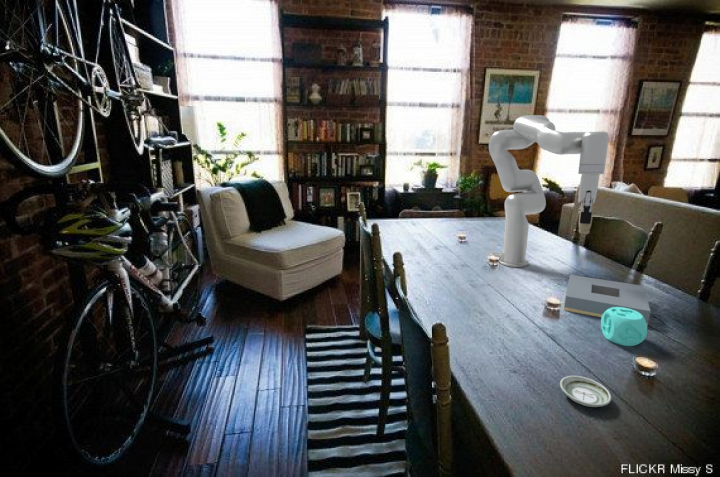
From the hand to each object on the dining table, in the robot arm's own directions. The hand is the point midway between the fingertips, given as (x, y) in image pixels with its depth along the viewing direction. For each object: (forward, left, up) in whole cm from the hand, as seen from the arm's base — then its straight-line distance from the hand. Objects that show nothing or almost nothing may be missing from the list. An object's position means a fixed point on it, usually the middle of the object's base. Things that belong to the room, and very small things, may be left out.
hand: (585, 221), depth 130 cm
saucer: (+5, -65, -26) cm, 71 cm away
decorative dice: (+13, -32, -26) cm, 43 cm away
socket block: (+9, -9, -26) cm, 29 cm away
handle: (0, 0, -4) cm, 4 cm away
